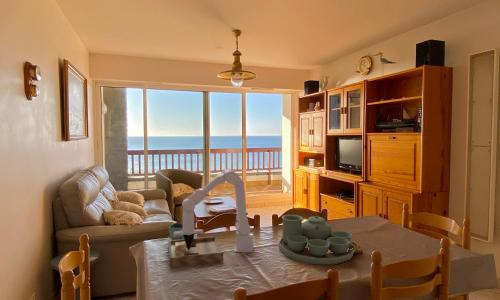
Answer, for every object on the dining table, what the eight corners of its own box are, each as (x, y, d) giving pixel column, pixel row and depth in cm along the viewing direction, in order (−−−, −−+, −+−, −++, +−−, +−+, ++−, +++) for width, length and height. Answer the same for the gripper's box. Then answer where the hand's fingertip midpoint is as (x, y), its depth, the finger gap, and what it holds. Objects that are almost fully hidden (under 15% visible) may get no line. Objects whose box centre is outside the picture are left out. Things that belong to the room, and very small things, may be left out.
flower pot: (182, 243, 174) (182, 228, 174) (168, 242, 176) (167, 227, 175) (188, 238, 183) (188, 223, 182) (174, 237, 185) (174, 222, 184)
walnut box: (214, 244, 174) (214, 236, 174) (223, 261, 151) (223, 252, 151) (168, 248, 167) (168, 240, 167) (170, 267, 144) (170, 258, 144)
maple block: (185, 249, 160) (185, 241, 160) (186, 252, 155) (186, 244, 155) (175, 250, 159) (175, 242, 158) (175, 253, 154) (175, 245, 154)
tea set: (294, 269, 143) (295, 234, 142) (270, 239, 183) (270, 212, 182) (371, 262, 152) (372, 229, 151) (332, 235, 191) (333, 208, 190)
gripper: (174, 226, 151) (174, 253, 152) (203, 223, 155) (204, 250, 156) (173, 222, 158) (173, 248, 159) (201, 219, 162) (202, 245, 163)
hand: (188, 248), depth 158 cm, fingers closed
